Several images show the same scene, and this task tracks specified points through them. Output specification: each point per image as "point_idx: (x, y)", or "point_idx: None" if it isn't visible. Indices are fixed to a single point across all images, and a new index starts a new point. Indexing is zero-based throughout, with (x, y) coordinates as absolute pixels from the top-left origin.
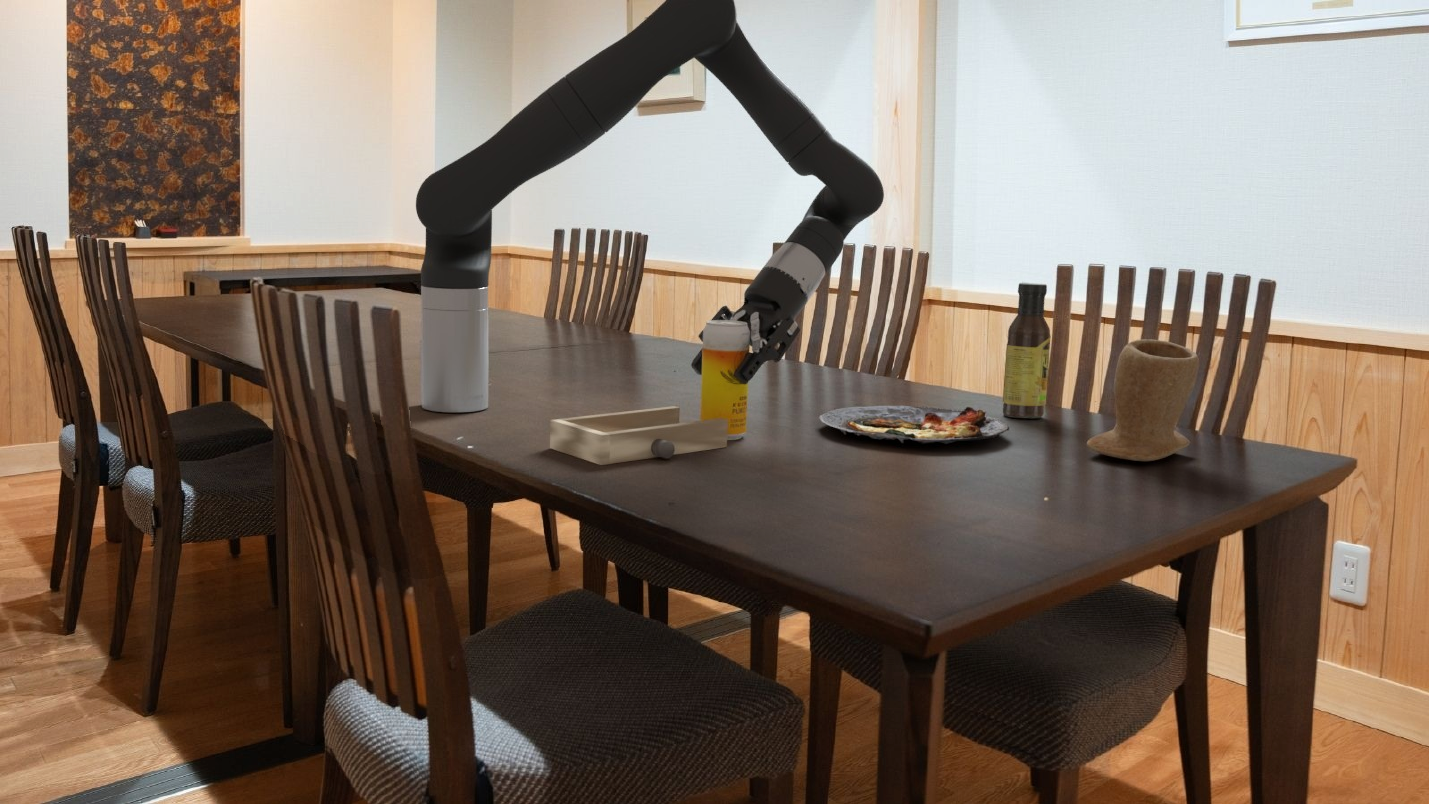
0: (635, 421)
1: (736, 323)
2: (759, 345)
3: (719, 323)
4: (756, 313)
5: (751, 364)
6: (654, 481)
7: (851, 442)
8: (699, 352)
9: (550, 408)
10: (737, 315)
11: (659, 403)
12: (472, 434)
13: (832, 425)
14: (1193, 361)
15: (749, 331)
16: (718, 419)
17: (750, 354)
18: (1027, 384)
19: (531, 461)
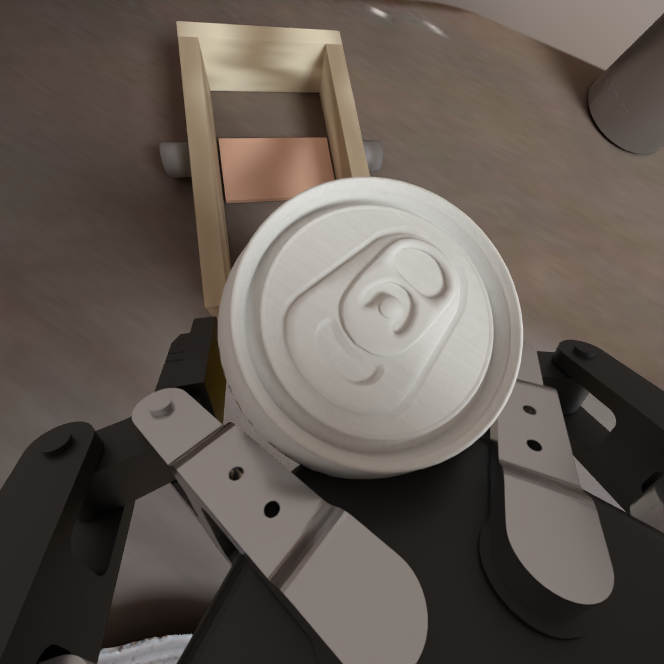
0: None
1: (400, 404)
2: (143, 425)
3: (387, 256)
4: (374, 644)
5: (164, 366)
6: (49, 79)
7: (125, 639)
8: None
9: (608, 226)
10: (558, 503)
11: None
12: (452, 50)
13: (187, 641)
14: None
15: (268, 439)
16: (215, 289)
17: (184, 378)
18: None
19: (262, 23)
